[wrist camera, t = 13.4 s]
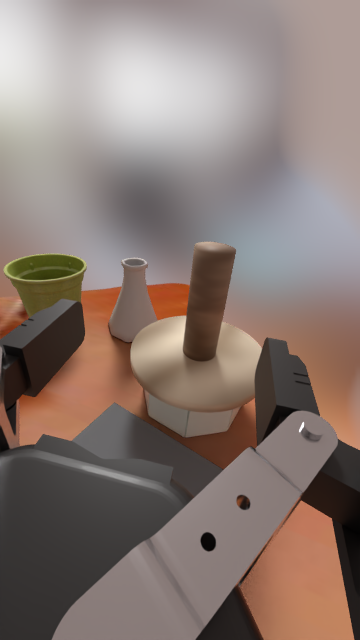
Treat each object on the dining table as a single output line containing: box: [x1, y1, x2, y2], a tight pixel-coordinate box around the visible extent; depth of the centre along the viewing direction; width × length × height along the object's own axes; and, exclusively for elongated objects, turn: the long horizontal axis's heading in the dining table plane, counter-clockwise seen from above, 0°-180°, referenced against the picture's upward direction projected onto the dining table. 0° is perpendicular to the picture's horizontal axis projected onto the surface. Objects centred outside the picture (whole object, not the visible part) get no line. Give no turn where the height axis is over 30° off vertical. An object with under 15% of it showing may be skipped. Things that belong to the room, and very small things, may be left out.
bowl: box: [144, 389, 240, 438], centre depth 28 cm, size 10×10×5 cm
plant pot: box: [4, 254, 87, 318], centre depth 36 cm, size 9×9×9 cm
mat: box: [72, 402, 223, 497], centre depth 19 cm, size 15×14×1 cm
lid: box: [131, 242, 262, 413], centre depth 24 cm, size 13×13×11 cm
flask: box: [108, 258, 157, 342], centre depth 37 cm, size 7×7×10 cm
